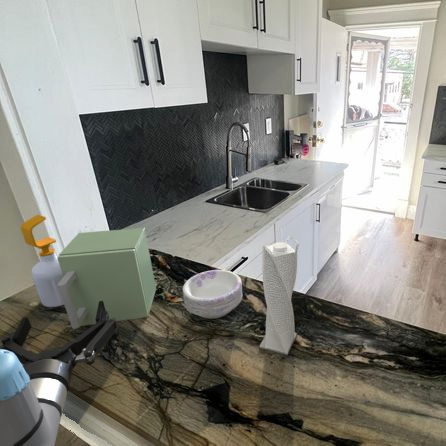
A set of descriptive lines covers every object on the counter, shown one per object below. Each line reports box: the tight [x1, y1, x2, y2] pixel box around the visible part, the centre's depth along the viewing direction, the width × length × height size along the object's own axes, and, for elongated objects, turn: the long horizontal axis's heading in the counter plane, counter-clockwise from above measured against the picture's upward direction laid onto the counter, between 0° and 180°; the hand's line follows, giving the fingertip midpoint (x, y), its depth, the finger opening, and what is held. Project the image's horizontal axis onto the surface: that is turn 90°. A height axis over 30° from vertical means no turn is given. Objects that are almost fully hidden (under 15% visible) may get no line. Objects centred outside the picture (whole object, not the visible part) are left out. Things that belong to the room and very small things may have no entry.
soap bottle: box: [20, 214, 65, 308], centre depth 84 cm, size 9×9×25 cm
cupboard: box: [58, 227, 157, 315], centre depth 83 cm, size 12×16×20 cm
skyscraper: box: [258, 236, 300, 356], centre depth 69 cm, size 8×8×28 cm
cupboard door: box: [57, 249, 150, 330], centre depth 74 cm, size 7×16×20 cm, turn 104°
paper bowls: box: [182, 269, 243, 320], centre depth 85 cm, size 15×15×8 cm
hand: (66, 313), depth 68 cm, fingers open, 13 cm apart
